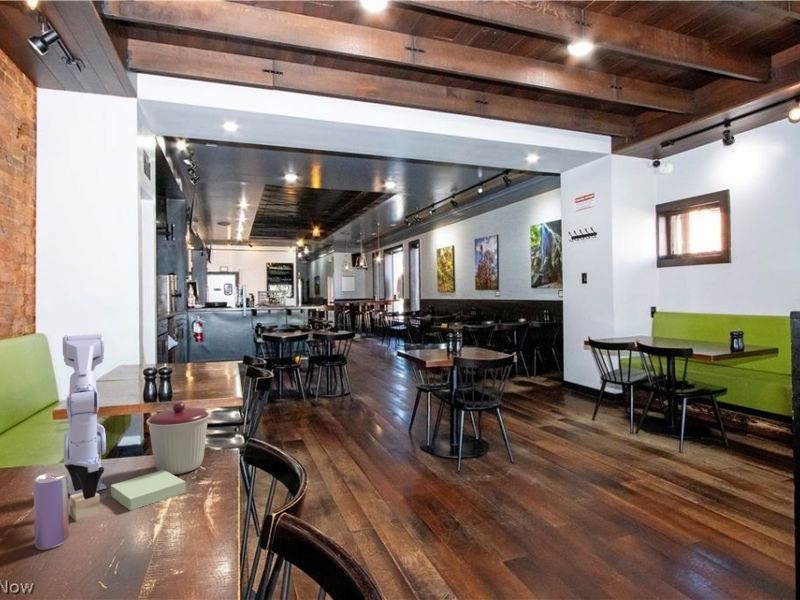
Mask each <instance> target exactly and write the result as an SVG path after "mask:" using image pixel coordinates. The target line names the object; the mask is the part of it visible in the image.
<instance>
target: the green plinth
mask: <svg viewBox="0 0 800 600" xmlns="http://www.w3.org/2000/svg"><path fill="white" fill-rule="evenodd" d="M186 491H187V490H186V481H185V480H183V479H181V478H179V477H178V476H175V474H174V475H172V474H171V473H169V472H167V471H165V470H161V471H158V470H157V471H155V472H154V471H153V472H151V473H147V474H143V475H141V476H140V475H139V476H136V477H134V478H131V479H127V480H124V481H123V480H122V481H120V482H117V483H113V484H110V496H111V497H112V498H113V499H115V501H117V502H118V503H119V504H121V505H122V506H123V505H124V506H123V507H125V508H126V509H127V508H128V511H130V510H132V511H134V510H133V509H135V510H137V509H136V508H138V509H140V508H139V507H141V508H143V507H142V506H144V507H146V506H145V505H147V506H149V504H150V505H152V503H153V504H154V503H159V502H161V501H164V500H167V499H170V498H173V497H176V496H179V495H181V494H184V493H185V494H186Z"/></svg>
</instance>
